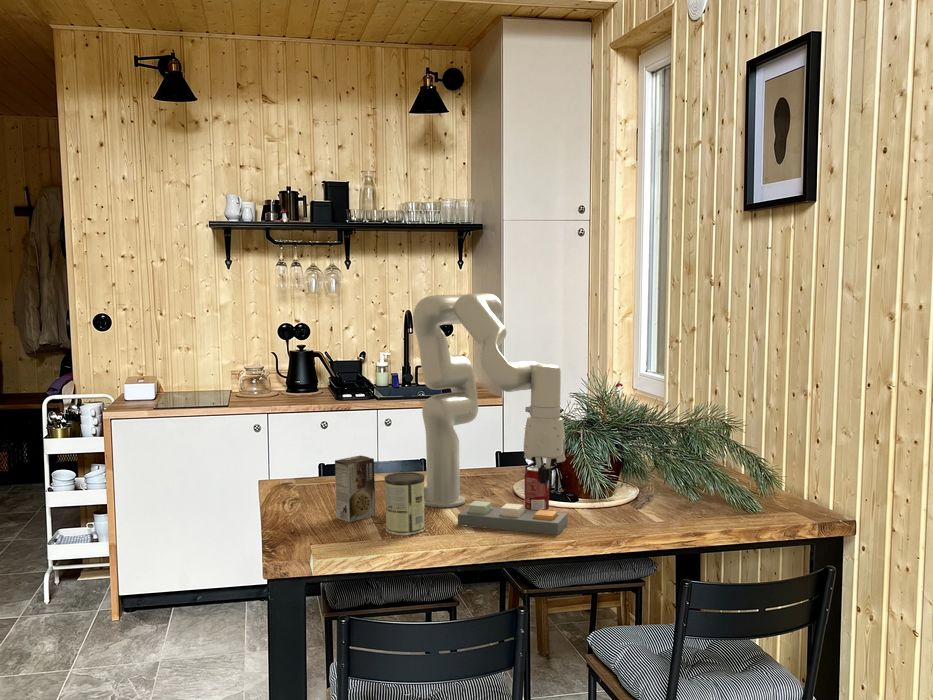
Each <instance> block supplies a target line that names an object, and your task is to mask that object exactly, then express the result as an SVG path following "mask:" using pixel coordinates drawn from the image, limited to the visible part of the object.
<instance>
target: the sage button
mask: <svg viewBox="0 0 933 700" xmlns="http://www.w3.org/2000/svg"><path fill="white" fill-rule="evenodd" d="M492 503H493V502H492V501H484V500H483V501H482V500H480V501H479V500H473V501H472V502H471V503H469V504H468V507H469V513H475V514H486V515H487V514H488V513H489V512H491V511H492V507H493V505H492Z"/></svg>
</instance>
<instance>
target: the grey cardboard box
mask: <svg viewBox="0 0 933 700" xmlns="http://www.w3.org/2000/svg"><path fill="white" fill-rule="evenodd" d="M334 476H335V477H334V478H335V480H334V481H335V482H334V483H335V507H336V509H335V510H336V516H335V517H336V519H338V520H342V521H344V520H345V522H347V521H348V523H353V522H356V520H357V521H360V520H363V519H367V517H368V518H371V516H372V517H375V516H376V515H377V513H376V486H375V485H376V482H375V459H374V458H372V457H368V456H365V455H355V456H351V457H346V458H341V459H336V460H334Z"/></svg>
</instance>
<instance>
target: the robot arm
mask: <svg viewBox="0 0 933 700" xmlns="http://www.w3.org/2000/svg"><path fill="white" fill-rule="evenodd" d="M503 311H504V310H503V305H502V303H501V300H500V299H499V297H497V296H496V295H495V294H492V293H489V292H488V293H487V292H485V293H467V294H435V295H429V296H426V297H423V298H422V299H420V300H419V301H418V302H417V303H416V305H415V307H414V310H413V314H412V322H413V323H412V324H413V328H414V332H415V335H416V339H417V343H418V350H419V357H420V358H419V359H420V364H421V373H422V379H423V382H424V384H425V386H426V387H427V388H429V390H445V389H450V391H451V392H447V393H445V392H444V393H438V394H435V395H432V396H430V397H429V398H427V399H426V400H425V401H424V403H423V405H422V409H421V410H422V411H421V412H422V414H421V415H422V420H423V424H424V428H425V429H424V430H425V445H426V447H425V448H426V485H424V503H425V506H427V507H432V508H451V507H452V508H453V507H458V506H459V507H460V506H461V505H463V504H465V503H466V497H465V496H463V495H461V489H460V488H461V485H460V484H461V482H460V476H461V475H460V474H461V472H460V440H459V436H458V434H457V432H456V430H455V429H454V426H455V427H456V426H459V425H466V424H470V423H471V422H473V421H474V420H475V419H476V418H477V416H478V413H479V400H478V398H479V397H478V392H477V385H476V384H477V383H476V378H475V371H474V368H473V364H472V363H471V361H470V360H469V359H468V358H467V357H466V356H464V355H461V354H452V355H451V353H450V349H449V341H448V338H447V336H446V334H445V332H444V331H443V330H442V328H441V327H440V326H442V325H459V324H460V325H461V324H462V326H463V327H464V328H465V329H466V331H467V332H468V333H469V335H470V336H471V337H472V338H473V340H474V341H475V342H476V343H477V345H478V346H479V348H480V351H479V356H480V364H481V366H482V367H481V368H482V369H483V371H484V372H485V374H486V375H487V377H488V378H489V379H490V380H491V382H492V383H493V384H494V385H495V386H496V387H497V388H498V389H499V390H501V391H502V392H507V393H514V392H519V391H527V390H530V405H529V406H525V407H524V408H525V409H524V410H525V412H526V413H529V416H528V417H527V418H526V422H525V427H524V428H525V429H524V437H523V438H524V439H523V453H524V456H523V458H524V459H525V460H529V461H532V462H533V463H534V464H535V465H534V466H537V468H538V479H540V484H542V483H544V484H547V483H548V482H549V483H550V481H551V480H552V478H551V477H552V475H551V473H552V467H553V466H554V465H555V464H556V463H557V464H558V463H563V462H565V461H566V455H565V453H566V435H565V424H564V419H563V418H562V417H561V386H562V385H561V380H562V379H561V378H562V376H561V373H562V372H561V368H560V366H559V365H557V364H549V363H540V362H537V361H534V360H525V361H524V360H522V361H513V362H508V360H506V358H505V357H504V356H503V354H502V353H501V352H500V350H499V348H498V347H499V346H500V345H501V344H502V343H503V342H504V340H505V339H506V337H507V329H506V327H505V326H504V325H503V323H502V322H501V321H500V318H501V317H502V316H503ZM544 459H546V461H545V462H544Z"/></svg>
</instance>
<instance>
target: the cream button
mask: <svg viewBox="0 0 933 700" xmlns="http://www.w3.org/2000/svg"><path fill="white" fill-rule="evenodd" d="M500 508H501V516H509V517H521V516H522V515H523V514H524V510H525V504H519V503H507V502H506V503H505V504H504V505H502V506H501V507H500Z"/></svg>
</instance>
